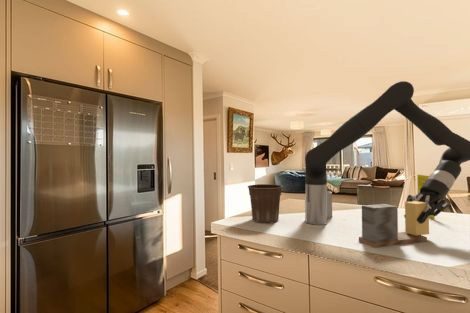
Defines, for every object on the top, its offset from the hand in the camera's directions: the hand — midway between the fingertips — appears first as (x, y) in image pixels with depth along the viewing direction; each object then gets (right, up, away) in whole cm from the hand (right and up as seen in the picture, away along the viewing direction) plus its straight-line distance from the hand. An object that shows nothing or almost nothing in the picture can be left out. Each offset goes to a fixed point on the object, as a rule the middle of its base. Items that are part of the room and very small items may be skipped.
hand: (412, 220), depth 91 cm
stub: (+2, -5, +1) cm, 5 cm away
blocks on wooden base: (-9, -7, -3) cm, 11 cm away
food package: (+31, -7, +36) cm, 48 cm away
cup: (-19, -7, +38) cm, 43 cm away
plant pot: (-49, -7, +29) cm, 58 cm away
